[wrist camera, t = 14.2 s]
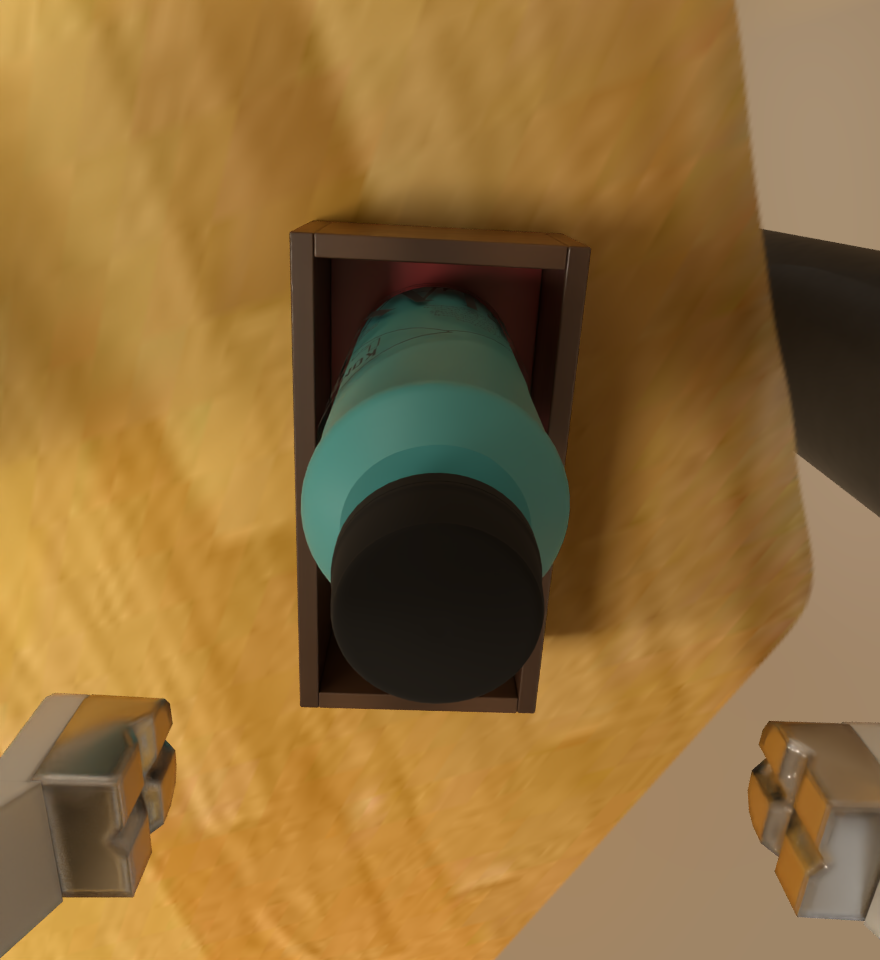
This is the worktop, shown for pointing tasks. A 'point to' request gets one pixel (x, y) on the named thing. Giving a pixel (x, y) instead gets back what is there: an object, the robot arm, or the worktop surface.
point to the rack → (325, 345)
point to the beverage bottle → (435, 501)
